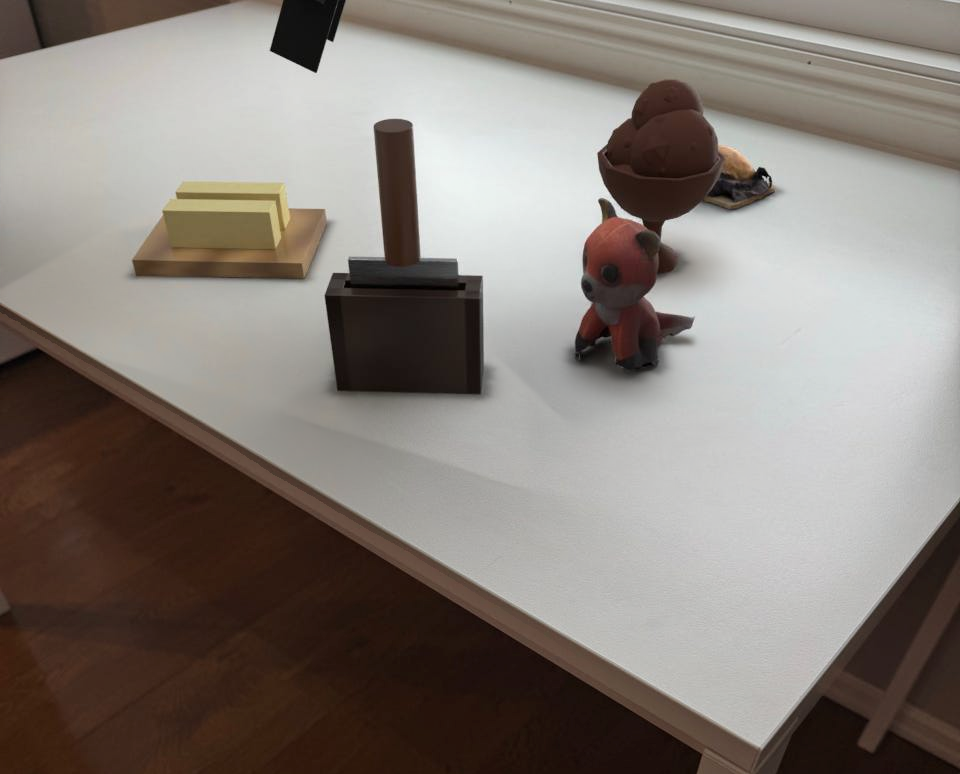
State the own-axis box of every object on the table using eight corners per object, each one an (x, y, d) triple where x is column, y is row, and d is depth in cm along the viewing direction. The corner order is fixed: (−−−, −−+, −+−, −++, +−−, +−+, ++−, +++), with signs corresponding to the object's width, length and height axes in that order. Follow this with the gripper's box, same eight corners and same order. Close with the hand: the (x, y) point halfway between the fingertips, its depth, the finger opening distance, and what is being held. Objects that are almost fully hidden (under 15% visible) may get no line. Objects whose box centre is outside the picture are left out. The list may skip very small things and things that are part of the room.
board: (135, 275, 91) (131, 259, 89) (172, 221, 99) (168, 206, 98) (304, 278, 90) (301, 263, 89) (327, 223, 98) (325, 208, 97)
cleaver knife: (359, 388, 77) (329, 131, 63) (364, 370, 78) (336, 117, 65) (459, 390, 76) (452, 133, 62) (462, 373, 78) (455, 118, 64)
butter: (171, 247, 91) (161, 210, 89) (190, 217, 96) (182, 180, 93) (275, 249, 91) (269, 212, 88) (290, 219, 95) (284, 182, 93)
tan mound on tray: (651, 183, 104) (655, 146, 102) (704, 162, 108) (709, 127, 105) (728, 213, 99) (734, 175, 96) (780, 190, 102) (788, 154, 100)
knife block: (337, 390, 76) (324, 295, 71) (344, 366, 79) (332, 272, 73) (481, 394, 76) (479, 298, 70) (483, 370, 78) (483, 275, 72)
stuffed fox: (716, 350, 80) (743, 203, 71) (614, 396, 75) (630, 244, 67) (653, 315, 84) (671, 171, 75) (553, 356, 80) (560, 208, 71)
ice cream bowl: (569, 251, 93) (578, 78, 82) (665, 227, 96) (686, 58, 85) (630, 297, 86) (649, 116, 75) (731, 270, 90) (763, 93, 79)
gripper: (525, -427, 39) (351, 109, 51) (489, -324, 59) (370, 47, 71) (350, -546, 37) (210, 42, 49) (373, -398, 57) (269, -3, 68)
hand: (304, 46), depth 60 cm, fingers open, 13 cm apart
